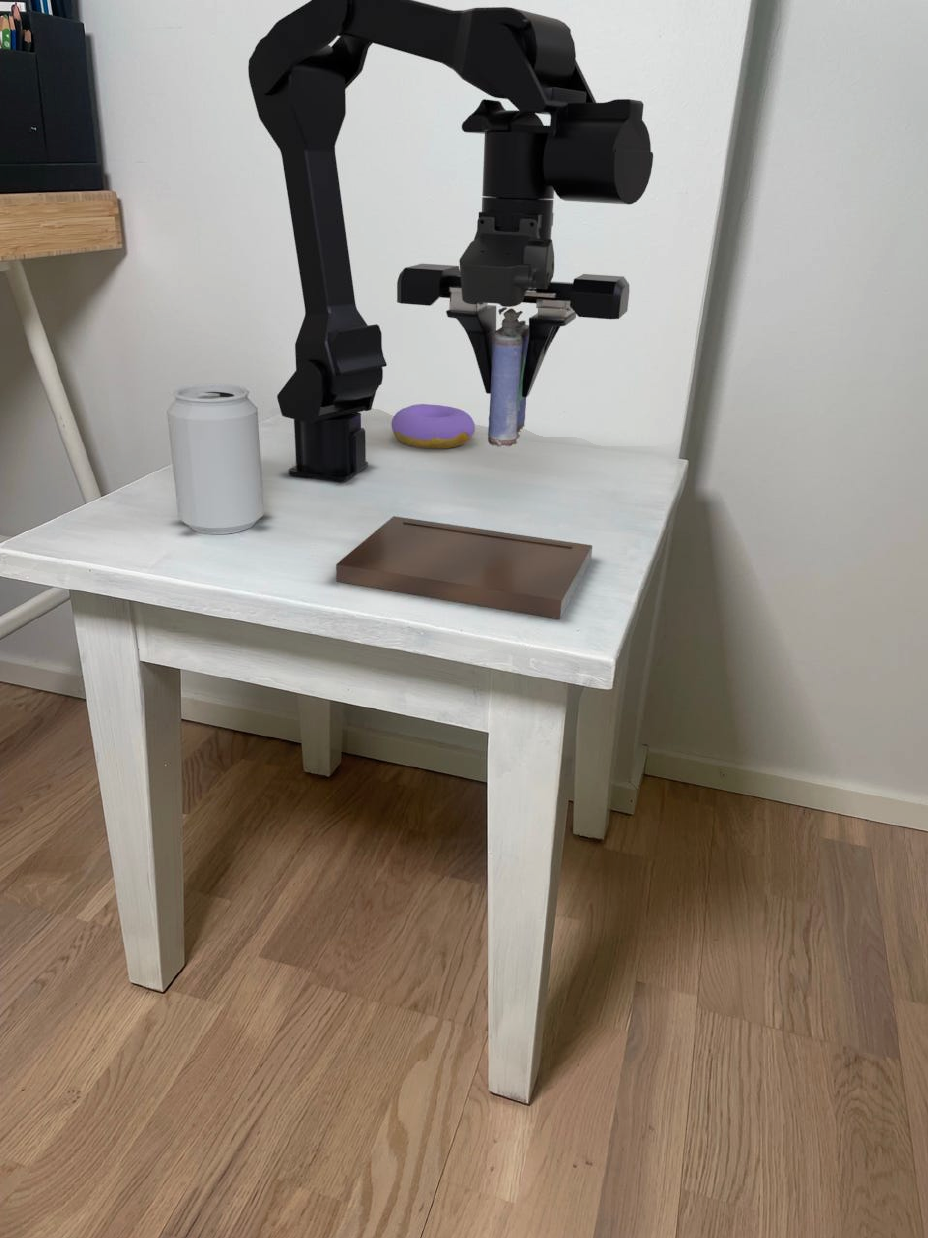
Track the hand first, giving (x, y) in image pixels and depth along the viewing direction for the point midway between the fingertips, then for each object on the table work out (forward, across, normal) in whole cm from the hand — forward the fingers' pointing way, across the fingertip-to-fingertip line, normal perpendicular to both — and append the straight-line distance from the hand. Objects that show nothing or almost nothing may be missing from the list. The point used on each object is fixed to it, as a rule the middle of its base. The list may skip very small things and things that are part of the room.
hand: (507, 394), depth 80 cm
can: (+12, -24, -10) cm, 28 cm away
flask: (+4, 0, 0) cm, 4 cm away
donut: (+12, -15, +24) cm, 31 cm away
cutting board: (+12, 0, -12) cm, 17 cm away
